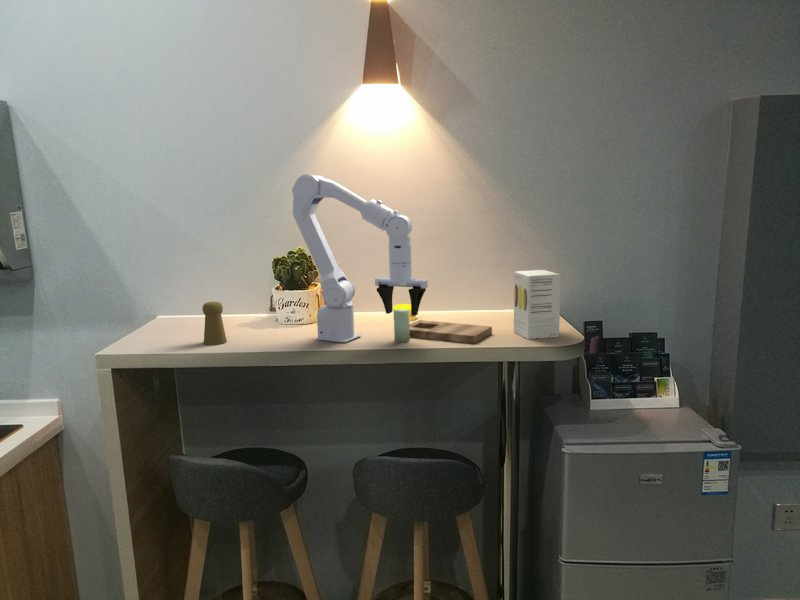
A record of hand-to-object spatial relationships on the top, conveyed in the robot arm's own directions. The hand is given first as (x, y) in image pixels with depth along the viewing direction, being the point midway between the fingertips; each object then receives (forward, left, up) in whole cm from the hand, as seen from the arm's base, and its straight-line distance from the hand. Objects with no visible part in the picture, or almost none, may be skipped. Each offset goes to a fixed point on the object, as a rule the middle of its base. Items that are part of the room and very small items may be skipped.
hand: (401, 314), depth 167 cm
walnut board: (+8, +10, -7) cm, 15 cm away
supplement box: (+30, +20, -7) cm, 37 cm away
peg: (0, 0, -7) cm, 7 cm away
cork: (-45, -22, -7) cm, 51 cm away
